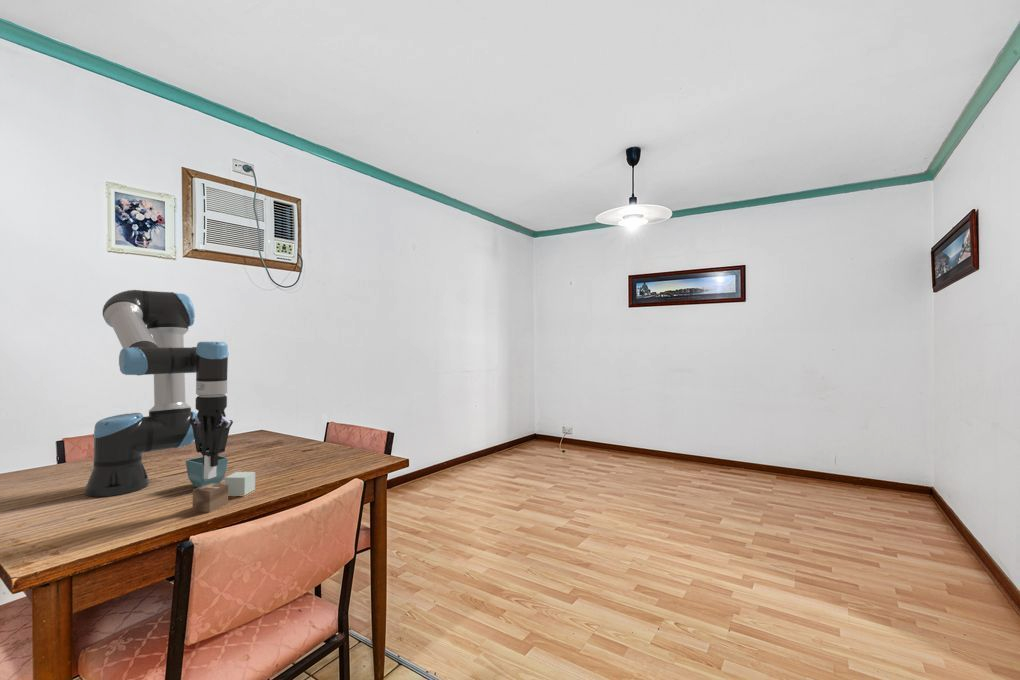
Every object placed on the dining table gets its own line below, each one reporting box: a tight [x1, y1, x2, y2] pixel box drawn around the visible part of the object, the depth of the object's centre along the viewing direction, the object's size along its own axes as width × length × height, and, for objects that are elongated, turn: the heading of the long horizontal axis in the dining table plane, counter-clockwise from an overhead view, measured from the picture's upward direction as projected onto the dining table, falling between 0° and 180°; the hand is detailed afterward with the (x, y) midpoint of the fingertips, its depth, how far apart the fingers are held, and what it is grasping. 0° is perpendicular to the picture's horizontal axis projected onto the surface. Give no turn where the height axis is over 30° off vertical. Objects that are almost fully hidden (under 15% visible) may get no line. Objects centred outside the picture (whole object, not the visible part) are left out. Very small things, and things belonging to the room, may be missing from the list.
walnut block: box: [192, 483, 229, 513], centre depth 130 cm, size 6×6×6 cm
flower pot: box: [185, 455, 229, 488], centre depth 149 cm, size 9×9×9 cm
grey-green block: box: [224, 471, 256, 496], centre depth 142 cm, size 6×6×6 cm
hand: (210, 477), depth 130 cm, fingers closed
